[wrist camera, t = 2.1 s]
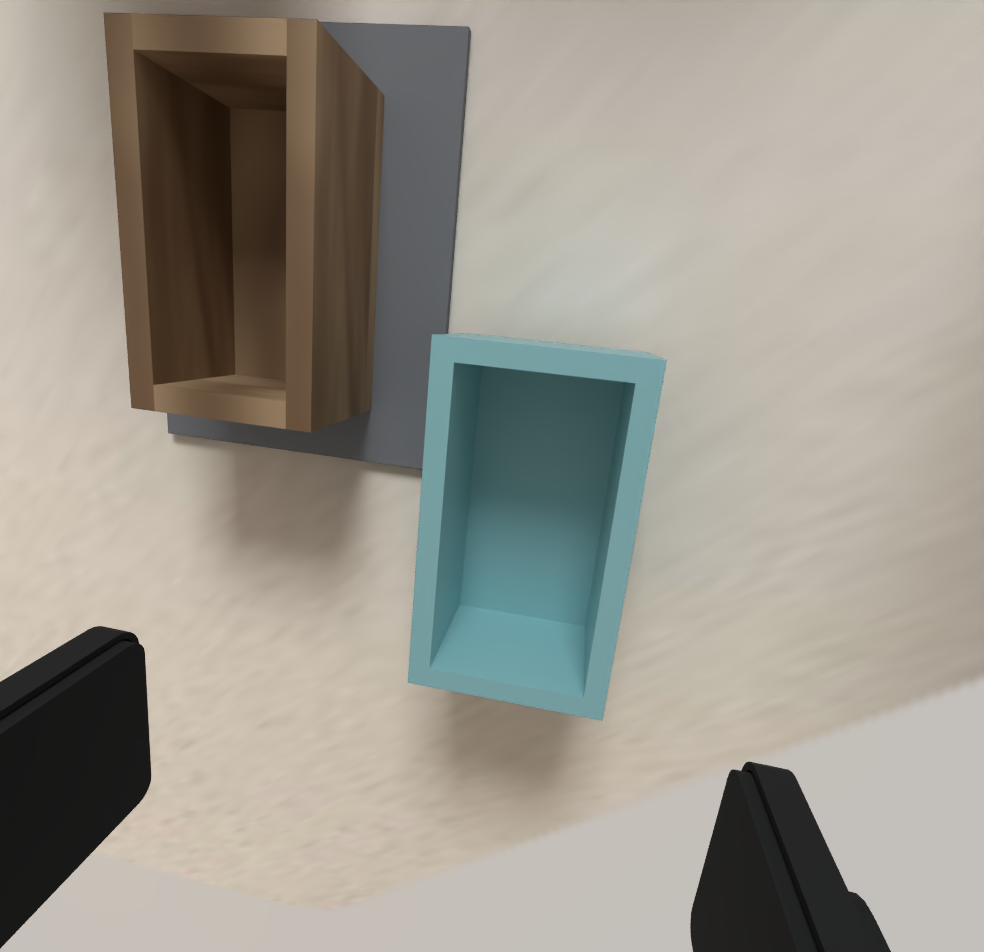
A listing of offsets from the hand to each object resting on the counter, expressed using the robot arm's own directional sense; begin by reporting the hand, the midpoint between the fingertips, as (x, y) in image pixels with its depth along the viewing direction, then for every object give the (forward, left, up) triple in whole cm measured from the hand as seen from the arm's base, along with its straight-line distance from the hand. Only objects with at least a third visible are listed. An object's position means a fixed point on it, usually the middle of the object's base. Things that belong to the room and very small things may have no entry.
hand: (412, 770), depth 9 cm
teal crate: (0, 0, -19) cm, 19 cm away
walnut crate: (+12, -9, -18) cm, 23 cm away
